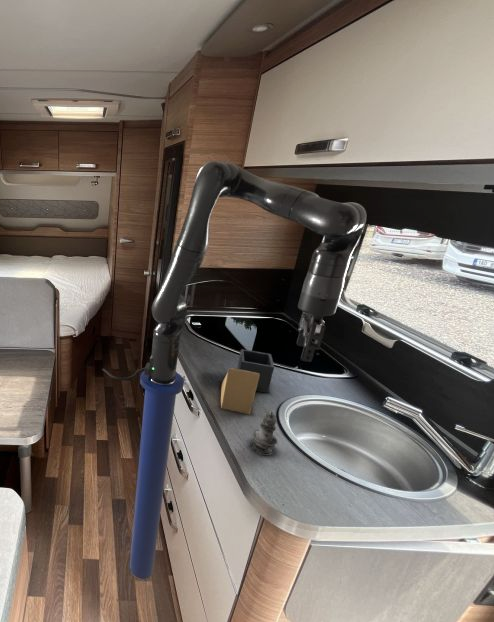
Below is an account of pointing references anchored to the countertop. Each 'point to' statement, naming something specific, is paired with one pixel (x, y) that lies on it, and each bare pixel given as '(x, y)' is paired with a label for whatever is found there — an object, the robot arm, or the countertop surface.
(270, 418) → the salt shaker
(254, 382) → the sandwich container
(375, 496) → the countertop surface
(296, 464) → the countertop surface
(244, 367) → the trash bin
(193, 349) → the countertop surface
